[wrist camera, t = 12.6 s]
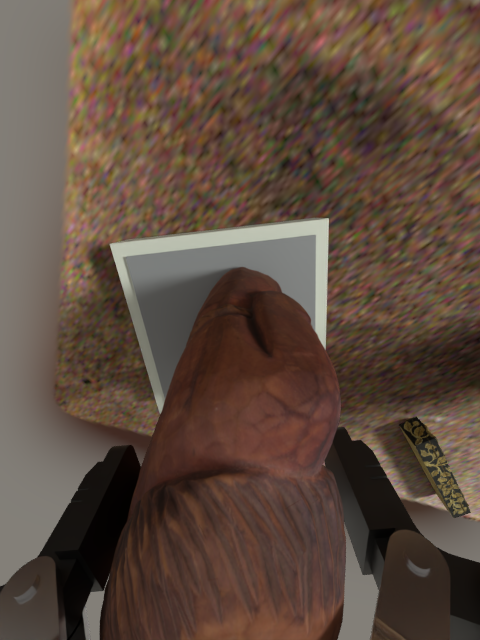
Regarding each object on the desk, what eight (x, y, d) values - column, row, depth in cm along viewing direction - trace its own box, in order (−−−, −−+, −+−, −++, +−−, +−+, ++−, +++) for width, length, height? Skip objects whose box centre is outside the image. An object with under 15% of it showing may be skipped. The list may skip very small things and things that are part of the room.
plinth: (315, 217, 21) (330, 218, 18) (314, 377, 27) (325, 399, 24) (126, 239, 22) (107, 244, 18) (167, 392, 28) (158, 415, 25)
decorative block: (451, 486, 35) (473, 514, 32) (434, 493, 36) (454, 521, 32) (416, 413, 30) (438, 438, 27) (396, 422, 31) (416, 447, 27)
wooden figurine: (245, 394, 24) (271, 813, 7) (178, 376, 23) (30, 809, 6) (296, 276, 20) (646, 625, 3) (217, 248, 19) (78, 529, 2)
